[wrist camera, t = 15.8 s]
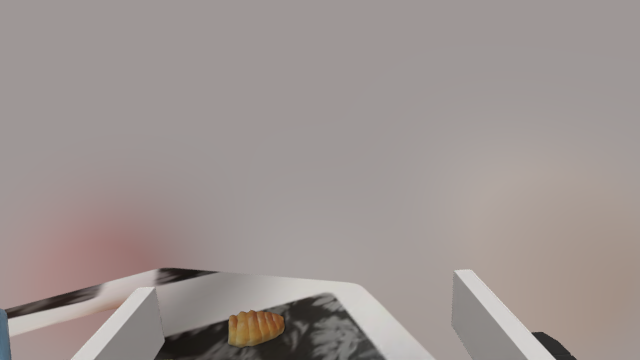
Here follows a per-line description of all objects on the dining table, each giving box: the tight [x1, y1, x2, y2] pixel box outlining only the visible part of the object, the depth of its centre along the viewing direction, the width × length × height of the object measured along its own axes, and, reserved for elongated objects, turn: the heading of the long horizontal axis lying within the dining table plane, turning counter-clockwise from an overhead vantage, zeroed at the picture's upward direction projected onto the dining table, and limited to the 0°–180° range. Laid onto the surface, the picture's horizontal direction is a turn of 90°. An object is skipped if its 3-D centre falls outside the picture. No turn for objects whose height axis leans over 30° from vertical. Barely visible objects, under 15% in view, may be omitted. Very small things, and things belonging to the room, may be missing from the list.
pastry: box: [228, 310, 285, 348], centre depth 58 cm, size 9×7×4 cm
